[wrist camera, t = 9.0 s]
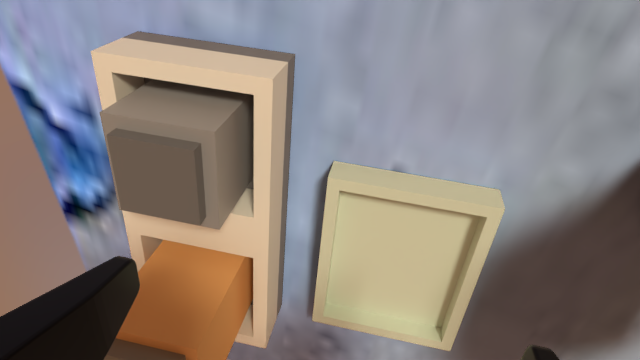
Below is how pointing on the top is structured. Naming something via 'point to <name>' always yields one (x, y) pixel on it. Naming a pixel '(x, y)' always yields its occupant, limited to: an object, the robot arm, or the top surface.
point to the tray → (402, 253)
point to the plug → (186, 305)
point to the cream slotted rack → (202, 153)
